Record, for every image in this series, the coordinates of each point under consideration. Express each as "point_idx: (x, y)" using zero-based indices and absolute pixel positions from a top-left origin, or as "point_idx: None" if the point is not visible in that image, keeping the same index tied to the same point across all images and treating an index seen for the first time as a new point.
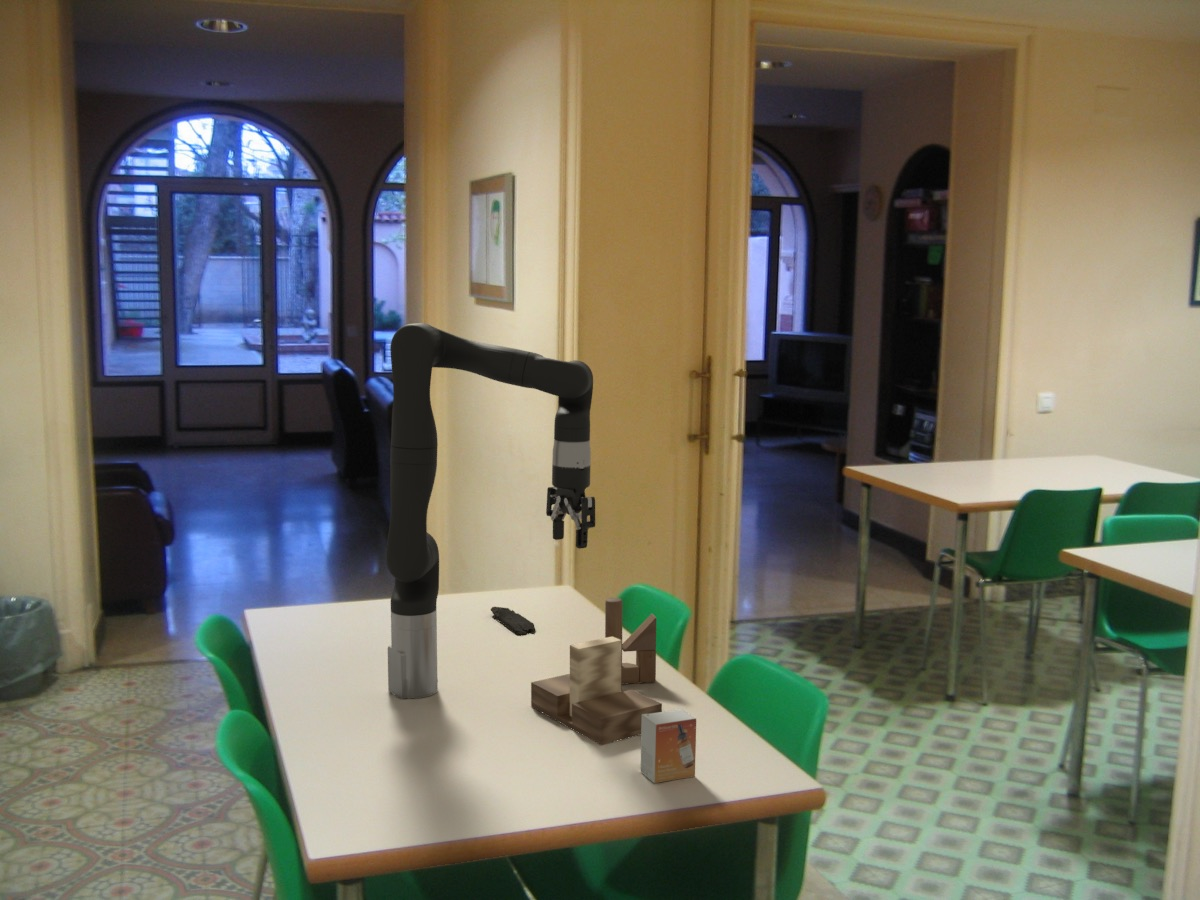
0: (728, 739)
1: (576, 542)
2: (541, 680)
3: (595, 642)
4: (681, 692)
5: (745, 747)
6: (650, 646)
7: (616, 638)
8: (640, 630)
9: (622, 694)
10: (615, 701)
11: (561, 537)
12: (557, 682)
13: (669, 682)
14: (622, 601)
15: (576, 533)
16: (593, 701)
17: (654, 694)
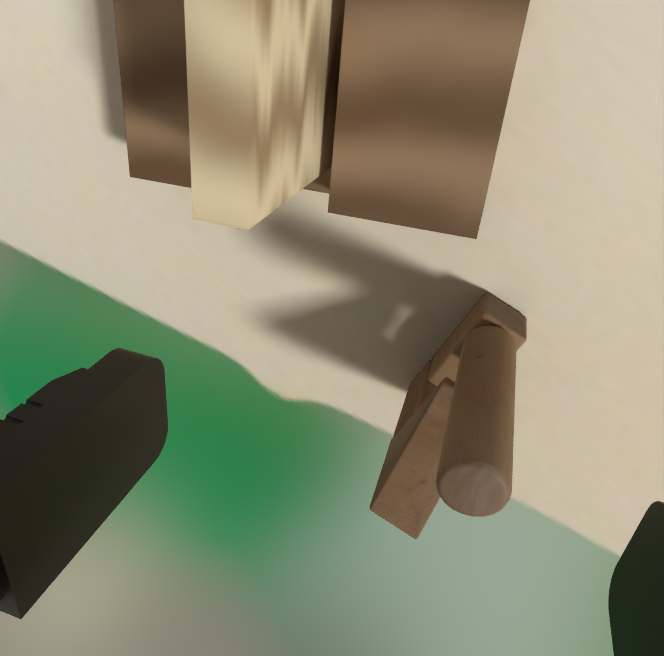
0: (60, 223)
1: (105, 380)
2: (520, 21)
3: (222, 118)
4: (320, 371)
5: (16, 215)
6: (397, 435)
7: (219, 221)
8: (420, 460)
9: None
10: None
11: (621, 582)
12: (458, 57)
13: (387, 405)
14: (443, 499)
15: (20, 457)
16: None
17: (350, 323)
